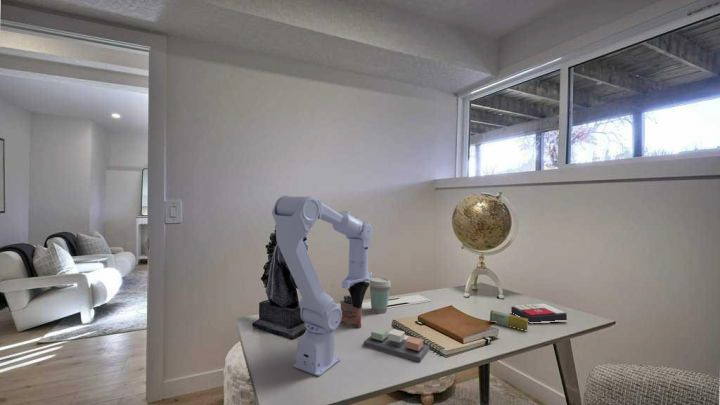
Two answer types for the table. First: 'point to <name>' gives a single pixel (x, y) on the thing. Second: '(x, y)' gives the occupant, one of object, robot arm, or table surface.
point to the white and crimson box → (538, 312)
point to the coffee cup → (379, 294)
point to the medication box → (509, 320)
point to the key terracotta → (414, 343)
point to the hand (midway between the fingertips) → (357, 307)
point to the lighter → (350, 313)
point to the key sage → (379, 334)
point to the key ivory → (396, 335)
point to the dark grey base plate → (397, 348)
